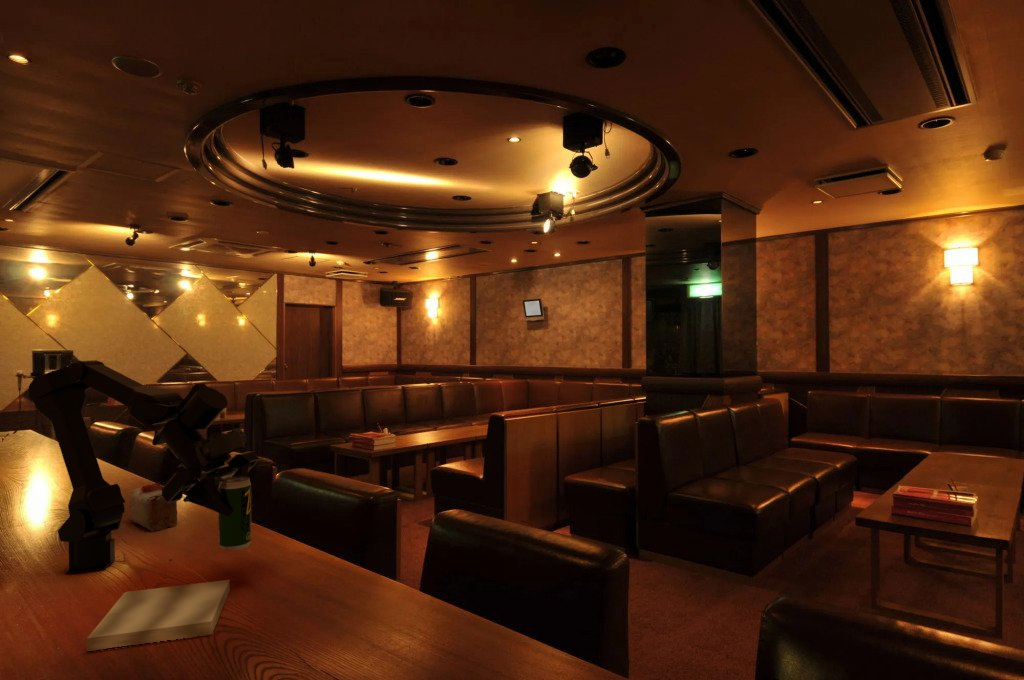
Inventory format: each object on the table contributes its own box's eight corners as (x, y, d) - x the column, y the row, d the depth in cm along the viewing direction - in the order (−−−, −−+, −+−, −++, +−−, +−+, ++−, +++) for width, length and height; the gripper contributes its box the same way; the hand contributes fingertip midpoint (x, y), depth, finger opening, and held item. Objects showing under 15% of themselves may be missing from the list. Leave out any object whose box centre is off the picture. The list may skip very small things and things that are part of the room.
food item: (125, 522, 144) (125, 482, 144) (161, 514, 150) (160, 476, 150) (146, 534, 135) (146, 491, 135) (184, 525, 141) (183, 484, 141)
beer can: (219, 553, 104) (218, 484, 104) (218, 543, 108) (218, 478, 108) (252, 547, 106) (251, 481, 106) (250, 538, 111) (250, 474, 111)
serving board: (87, 652, 84) (86, 638, 84) (125, 604, 99) (124, 592, 99) (211, 634, 88) (211, 621, 88) (229, 591, 104) (229, 579, 104)
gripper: (174, 424, 99) (231, 494, 96) (250, 410, 117) (299, 468, 114) (137, 468, 101) (191, 538, 98) (217, 448, 119) (264, 506, 116)
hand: (241, 509), depth 107 cm, fingers closed on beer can, 5 cm apart
